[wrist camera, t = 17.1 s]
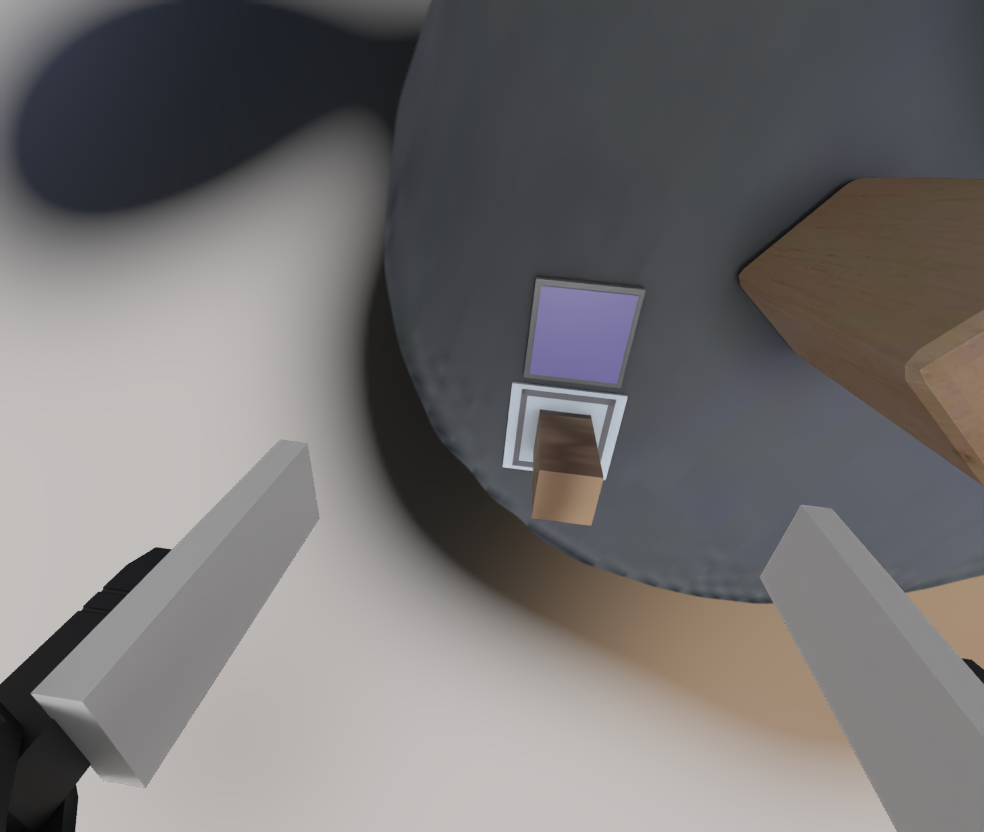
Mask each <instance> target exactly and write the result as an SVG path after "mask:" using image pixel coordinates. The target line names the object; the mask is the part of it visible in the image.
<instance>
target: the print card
mask: <svg viewBox="0 0 984 832" xmlns="http://www.w3.org/2000/svg"><path fill="white" fill-rule="evenodd" d="M627 398H628V395H627V394H619V393H610V392H601V391H593V390H584V389H575V388H567V387H558V386H549V385H541V384H532V383H523V382H515V381H512V389H511V398H510V407H509V416H508V425H507V433H506V442H505V451H504V460H503V467H506V468H514V469H522V470H530V471H533V451H534V444H535V438H536V431H537V425H538V418H539V412H540V409H542V410H550V411H558V412H567V413H575V414H584V415H591V418H592V423H593V428H594V433H595V438H596V443H597V448H598V453H599V458H600V463H601V468H602V472H603V477H604V479H603V480H606V477H607V473H608V469H609V466H610V462H611V458H612V454H613V451H614V447H615V443H616V439H617V436H618V432H619V428H620V424H621V420H622V417H623V413H624V409H625V405H626V402H627Z"/></svg>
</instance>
